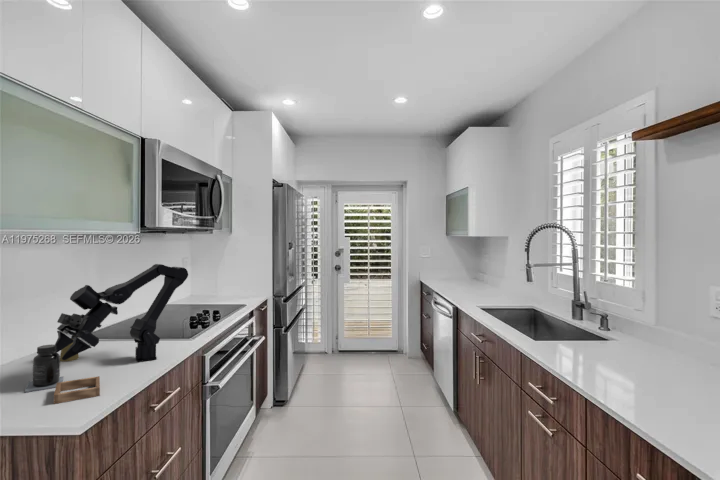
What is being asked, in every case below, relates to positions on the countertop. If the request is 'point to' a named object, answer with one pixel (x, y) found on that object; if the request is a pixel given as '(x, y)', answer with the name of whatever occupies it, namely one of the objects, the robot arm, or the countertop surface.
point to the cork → (65, 352)
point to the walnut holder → (78, 393)
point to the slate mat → (33, 388)
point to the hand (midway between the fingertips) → (56, 356)
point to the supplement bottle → (46, 366)
